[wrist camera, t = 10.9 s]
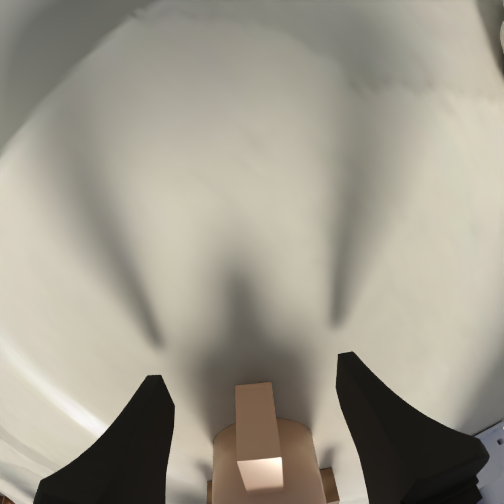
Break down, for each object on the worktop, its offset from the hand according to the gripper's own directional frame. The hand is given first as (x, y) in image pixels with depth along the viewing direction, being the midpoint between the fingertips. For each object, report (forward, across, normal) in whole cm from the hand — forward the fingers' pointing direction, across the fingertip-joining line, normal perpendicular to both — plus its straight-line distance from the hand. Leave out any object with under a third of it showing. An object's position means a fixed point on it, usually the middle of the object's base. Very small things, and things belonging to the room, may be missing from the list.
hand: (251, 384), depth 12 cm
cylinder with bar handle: (+2, 0, +6) cm, 6 cm away
